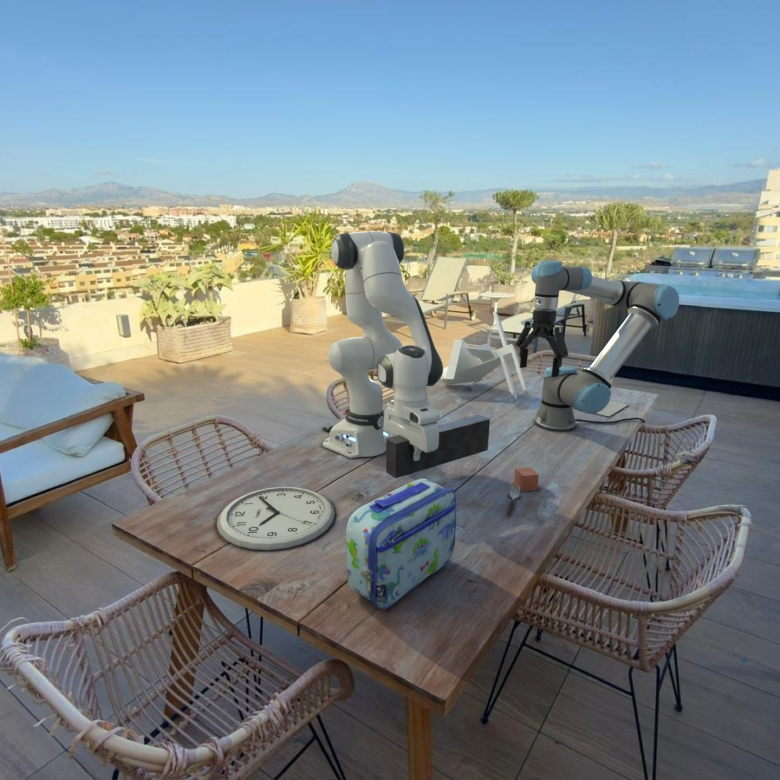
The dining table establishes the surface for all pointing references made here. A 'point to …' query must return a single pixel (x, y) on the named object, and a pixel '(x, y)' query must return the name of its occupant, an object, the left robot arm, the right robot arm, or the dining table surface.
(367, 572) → the lunch box
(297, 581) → the dining table surface
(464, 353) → the white plastic object
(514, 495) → the fork
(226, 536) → the wall clock
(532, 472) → the terracotta block
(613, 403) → the invitation card
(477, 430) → the bar
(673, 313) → the right robot arm
